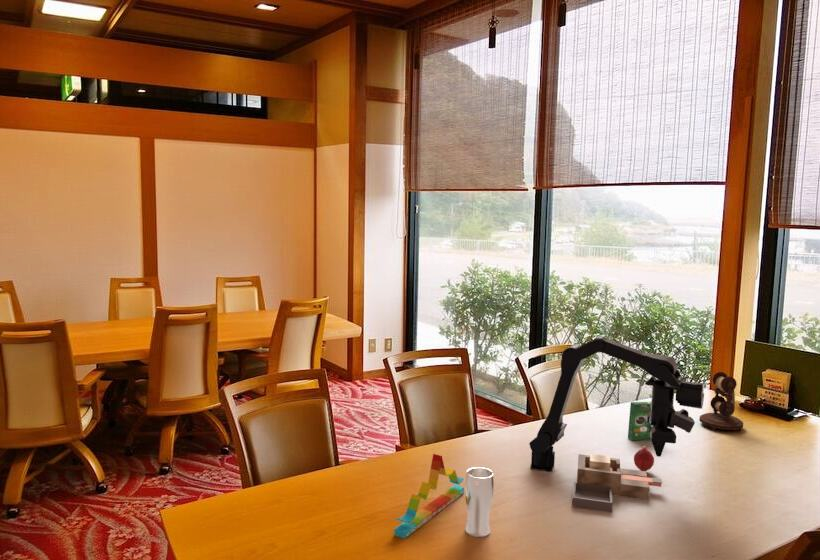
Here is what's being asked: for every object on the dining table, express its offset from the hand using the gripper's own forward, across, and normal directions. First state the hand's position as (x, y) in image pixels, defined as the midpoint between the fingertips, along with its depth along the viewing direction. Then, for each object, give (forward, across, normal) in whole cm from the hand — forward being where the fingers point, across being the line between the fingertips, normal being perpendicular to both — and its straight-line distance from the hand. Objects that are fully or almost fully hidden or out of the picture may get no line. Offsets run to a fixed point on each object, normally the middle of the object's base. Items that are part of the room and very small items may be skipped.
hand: (658, 456), depth 183 cm
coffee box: (+11, +44, +1) cm, 46 cm away
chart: (+11, -32, +57) cm, 67 cm away
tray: (+11, -12, +17) cm, 23 cm away
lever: (+8, 0, +9) cm, 12 cm away
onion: (+11, +14, +2) cm, 18 cm away
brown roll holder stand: (+11, +68, -28) cm, 75 cm away
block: (+7, 0, +16) cm, 17 cm away
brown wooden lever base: (+11, 0, +12) cm, 16 cm away
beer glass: (+11, -38, +44) cm, 59 cm away
